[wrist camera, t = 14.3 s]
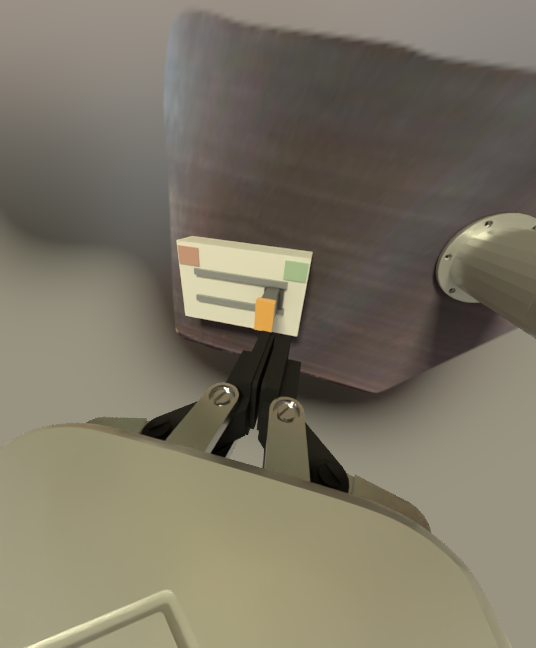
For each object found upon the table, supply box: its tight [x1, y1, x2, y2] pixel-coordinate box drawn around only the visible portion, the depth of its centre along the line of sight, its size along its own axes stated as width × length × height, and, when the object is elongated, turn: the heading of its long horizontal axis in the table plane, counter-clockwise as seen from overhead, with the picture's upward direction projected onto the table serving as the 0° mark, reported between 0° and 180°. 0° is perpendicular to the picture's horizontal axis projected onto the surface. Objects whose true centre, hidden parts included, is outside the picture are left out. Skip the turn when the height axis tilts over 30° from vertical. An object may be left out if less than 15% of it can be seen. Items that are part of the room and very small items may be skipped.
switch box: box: [176, 236, 313, 336], centre depth 40 cm, size 22×14×6 cm, turn 85°
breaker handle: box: [254, 287, 284, 332], centre depth 34 cm, size 3×5×8 cm
